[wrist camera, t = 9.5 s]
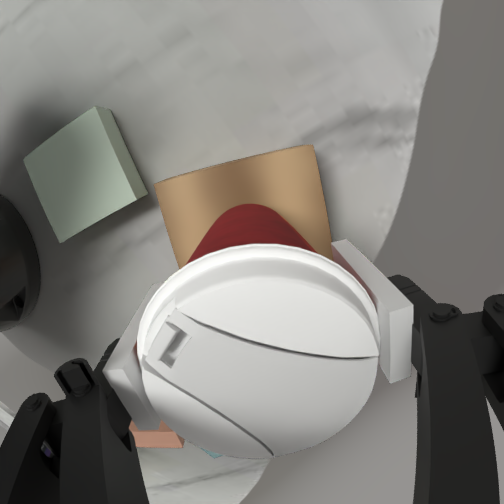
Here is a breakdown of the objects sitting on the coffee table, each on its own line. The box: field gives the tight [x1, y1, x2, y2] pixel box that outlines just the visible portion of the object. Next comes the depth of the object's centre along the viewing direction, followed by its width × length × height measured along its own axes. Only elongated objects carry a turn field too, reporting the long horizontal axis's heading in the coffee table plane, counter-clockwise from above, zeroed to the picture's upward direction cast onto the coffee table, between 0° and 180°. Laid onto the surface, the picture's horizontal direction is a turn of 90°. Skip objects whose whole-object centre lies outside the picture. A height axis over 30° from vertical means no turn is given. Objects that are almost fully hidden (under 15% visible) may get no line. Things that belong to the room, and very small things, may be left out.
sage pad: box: [23, 106, 148, 243], centre depth 23 cm, size 8×8×3 cm
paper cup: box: [137, 204, 380, 459], centre depth 15 cm, size 8×8×14 cm
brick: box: [129, 420, 184, 448], centre depth 32 cm, size 6×3×3 cm, turn 98°
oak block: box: [154, 145, 334, 269], centre depth 24 cm, size 11×11×4 cm
